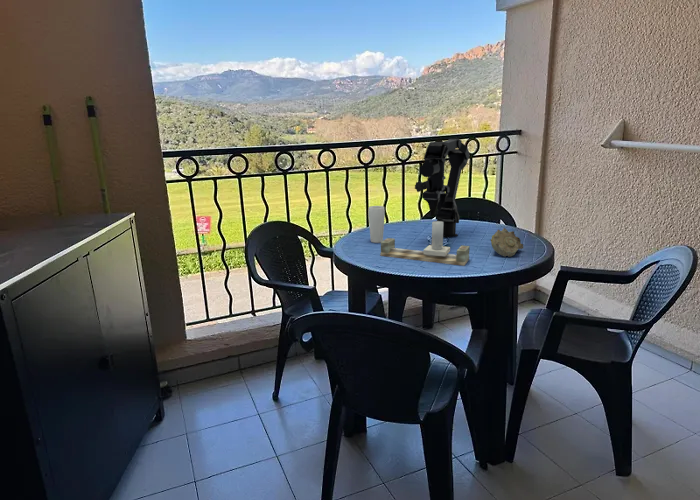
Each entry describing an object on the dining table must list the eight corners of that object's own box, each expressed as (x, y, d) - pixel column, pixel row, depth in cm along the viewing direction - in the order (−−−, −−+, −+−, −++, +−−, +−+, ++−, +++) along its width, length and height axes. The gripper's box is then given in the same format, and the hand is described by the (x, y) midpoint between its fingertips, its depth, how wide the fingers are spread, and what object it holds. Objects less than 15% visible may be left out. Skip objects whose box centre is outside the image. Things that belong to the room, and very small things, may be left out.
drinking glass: (383, 244, 183) (383, 208, 179) (367, 243, 185) (367, 208, 180) (385, 239, 190) (385, 205, 185) (370, 239, 191) (369, 205, 187)
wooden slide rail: (380, 255, 168) (380, 242, 166) (388, 250, 175) (388, 236, 173) (464, 265, 154) (465, 250, 152) (469, 259, 161) (469, 245, 159)
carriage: (423, 254, 160) (424, 223, 157) (429, 248, 166) (429, 219, 163) (445, 256, 157) (446, 225, 154) (450, 251, 163) (451, 221, 159)
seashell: (486, 259, 165) (488, 234, 161) (495, 245, 176) (496, 222, 172) (517, 264, 159) (520, 238, 156) (524, 249, 171) (526, 225, 167)
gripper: (424, 171, 186) (423, 207, 190) (409, 176, 170) (409, 216, 174) (450, 171, 181) (448, 208, 185) (438, 177, 165) (436, 218, 169)
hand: (435, 212), depth 179 cm, fingers open, 9 cm apart
